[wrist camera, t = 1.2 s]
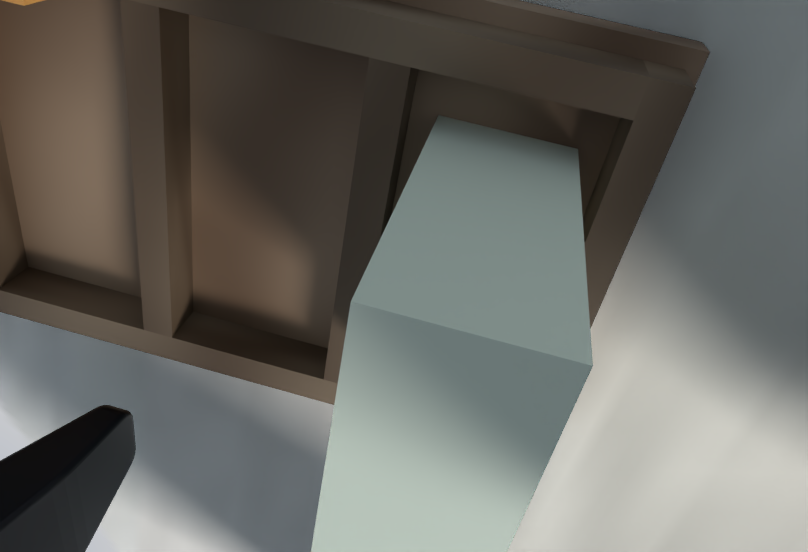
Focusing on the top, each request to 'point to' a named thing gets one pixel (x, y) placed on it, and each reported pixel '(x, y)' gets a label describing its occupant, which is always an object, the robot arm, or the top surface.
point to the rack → (287, 156)
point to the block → (460, 349)
